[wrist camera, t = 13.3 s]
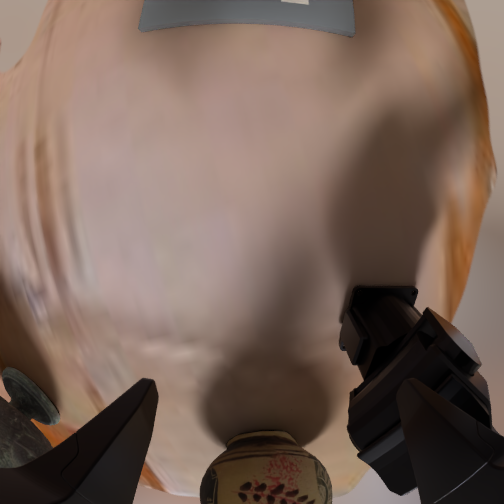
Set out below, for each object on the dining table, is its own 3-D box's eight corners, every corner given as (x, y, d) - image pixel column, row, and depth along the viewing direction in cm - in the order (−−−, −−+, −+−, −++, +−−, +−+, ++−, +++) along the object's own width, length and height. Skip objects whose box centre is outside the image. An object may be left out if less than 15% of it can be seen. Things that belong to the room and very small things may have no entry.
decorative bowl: (-37, 320, 25) (-92, 383, 6) (43, 344, 25) (-32, 460, 6) (25, 416, 35) (-5, 477, 16) (114, 449, 35) (90, 534, 16)
